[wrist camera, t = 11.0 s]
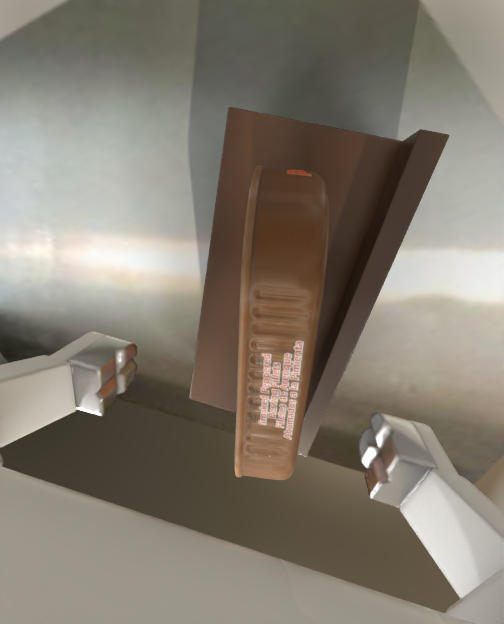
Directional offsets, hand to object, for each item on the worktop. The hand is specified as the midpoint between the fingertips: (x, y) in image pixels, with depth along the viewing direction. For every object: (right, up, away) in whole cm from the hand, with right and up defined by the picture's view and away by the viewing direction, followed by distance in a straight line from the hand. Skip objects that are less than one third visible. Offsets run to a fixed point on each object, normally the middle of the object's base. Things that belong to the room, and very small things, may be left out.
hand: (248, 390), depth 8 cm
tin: (+2, +3, +8) cm, 9 cm away
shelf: (+3, +5, +13) cm, 14 cm away
